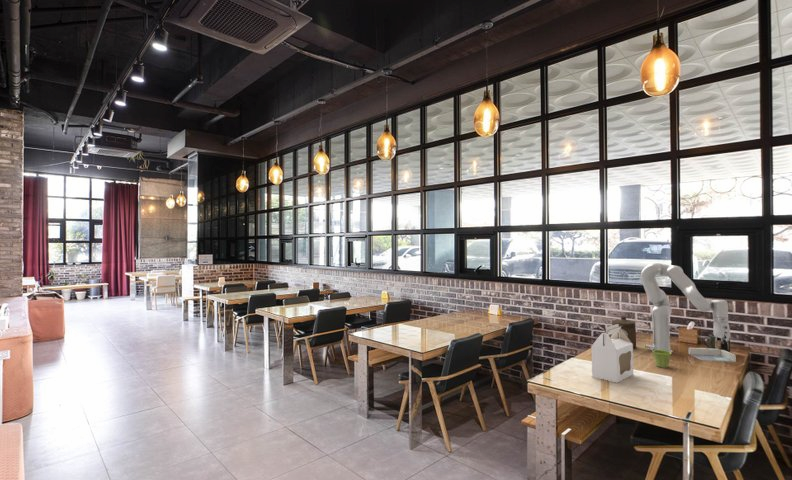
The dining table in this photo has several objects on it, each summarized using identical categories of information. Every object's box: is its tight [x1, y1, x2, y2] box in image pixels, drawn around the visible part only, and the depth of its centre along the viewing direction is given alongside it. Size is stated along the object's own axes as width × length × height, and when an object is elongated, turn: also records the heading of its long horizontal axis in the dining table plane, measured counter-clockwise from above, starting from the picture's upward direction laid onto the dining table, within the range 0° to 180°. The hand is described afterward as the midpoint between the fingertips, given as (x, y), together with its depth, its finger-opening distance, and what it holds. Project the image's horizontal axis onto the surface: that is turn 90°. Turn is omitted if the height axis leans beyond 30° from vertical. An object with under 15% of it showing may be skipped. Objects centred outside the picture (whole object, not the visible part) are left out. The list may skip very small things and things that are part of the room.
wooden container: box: [611, 315, 637, 350], centre depth 289 cm, size 15×15×22 cm
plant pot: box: [652, 350, 672, 369], centre depth 242 cm, size 9×9×9 cm
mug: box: [702, 333, 731, 353], centre depth 270 cm, size 11×15×12 cm
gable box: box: [591, 324, 634, 384], centre depth 226 cm, size 22×13×28 cm, turn 129°
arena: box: [688, 347, 737, 363], centre depth 256 cm, size 19×15×5 cm
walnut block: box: [715, 340, 729, 350], centre depth 252 cm, size 5×5×5 cm
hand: (721, 348), depth 252 cm, fingers closed on walnut block, 5 cm apart
